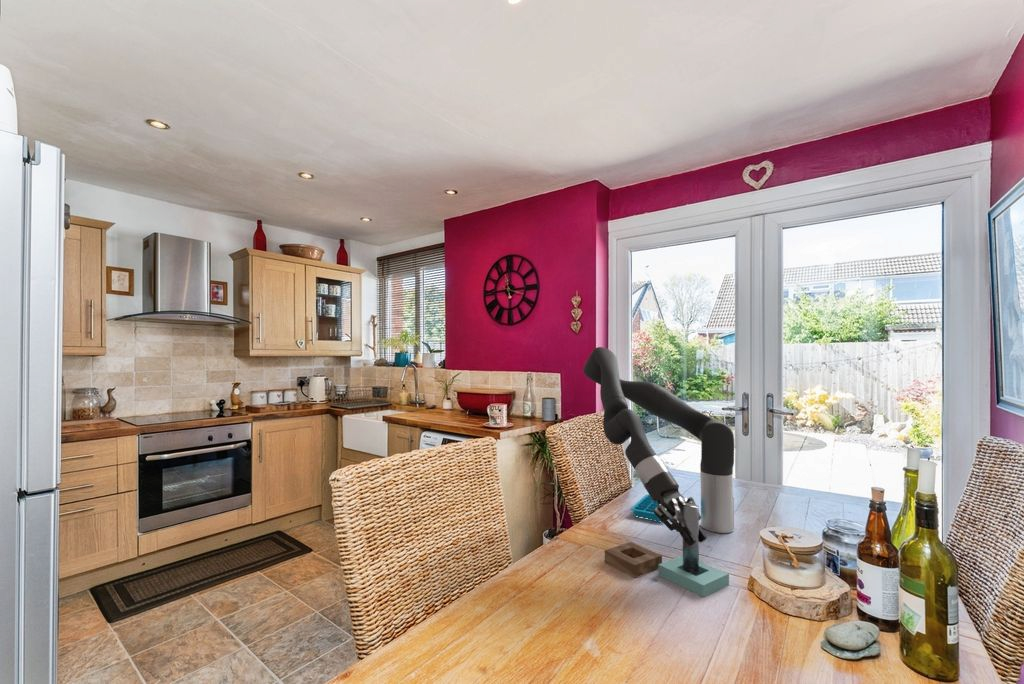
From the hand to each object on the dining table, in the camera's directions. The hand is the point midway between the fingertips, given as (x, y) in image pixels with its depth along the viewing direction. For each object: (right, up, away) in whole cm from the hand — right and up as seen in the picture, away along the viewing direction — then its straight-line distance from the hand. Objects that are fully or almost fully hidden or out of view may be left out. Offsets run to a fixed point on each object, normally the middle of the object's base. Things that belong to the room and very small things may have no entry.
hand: (698, 542), depth 105 cm
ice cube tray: (+6, -12, +49) cm, 50 cm away
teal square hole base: (-1, -9, +1) cm, 9 cm away
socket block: (-13, -10, +9) cm, 18 cm away
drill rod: (-1, -7, +1) cm, 7 cm away
